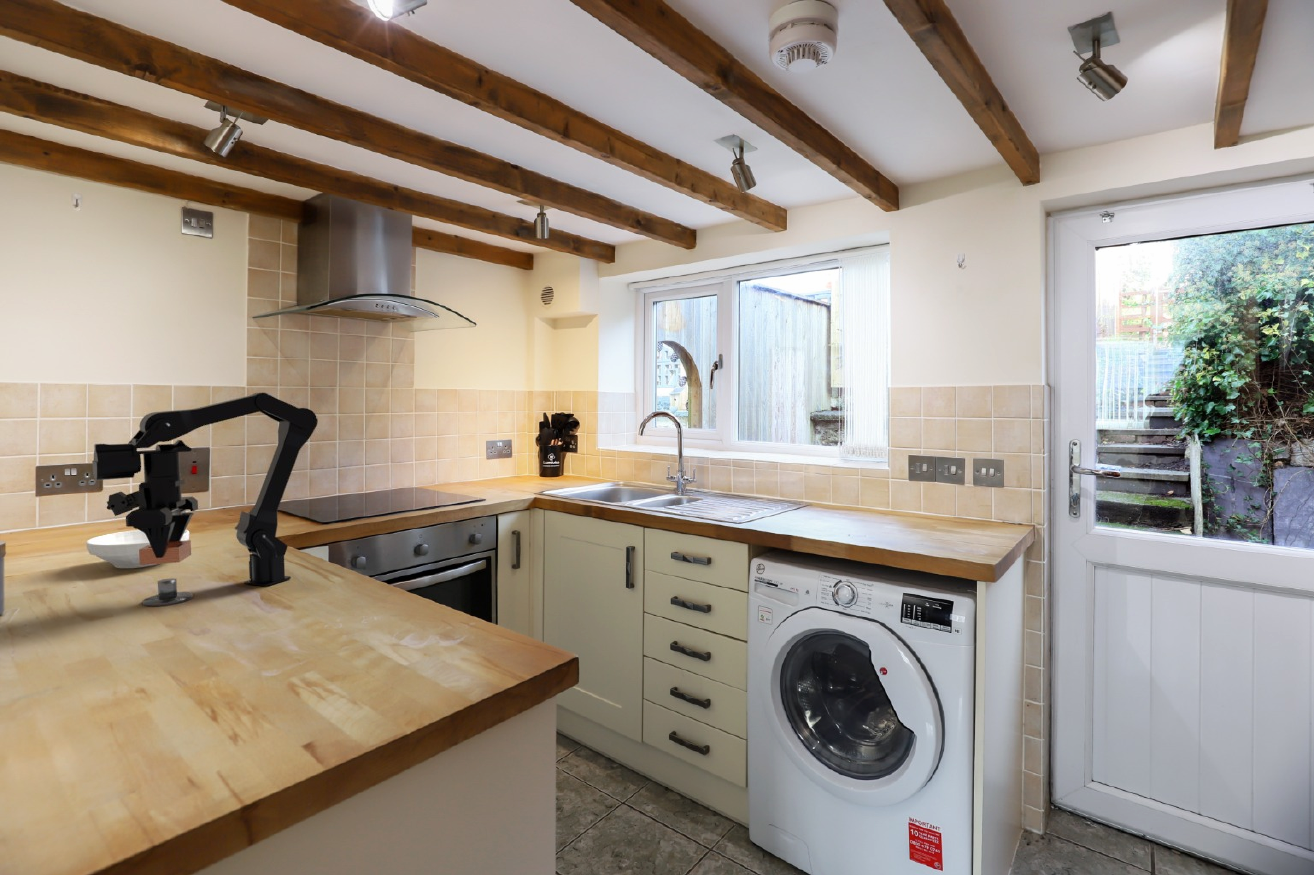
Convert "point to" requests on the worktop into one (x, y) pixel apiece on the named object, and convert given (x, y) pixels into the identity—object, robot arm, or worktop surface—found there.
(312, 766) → the worktop surface
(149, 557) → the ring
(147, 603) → the disc with centre peg
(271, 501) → the robot arm
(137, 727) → the worktop surface
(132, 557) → the bowl
